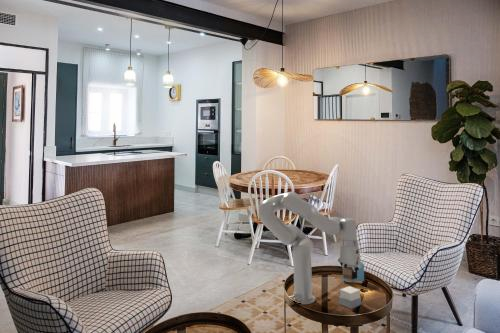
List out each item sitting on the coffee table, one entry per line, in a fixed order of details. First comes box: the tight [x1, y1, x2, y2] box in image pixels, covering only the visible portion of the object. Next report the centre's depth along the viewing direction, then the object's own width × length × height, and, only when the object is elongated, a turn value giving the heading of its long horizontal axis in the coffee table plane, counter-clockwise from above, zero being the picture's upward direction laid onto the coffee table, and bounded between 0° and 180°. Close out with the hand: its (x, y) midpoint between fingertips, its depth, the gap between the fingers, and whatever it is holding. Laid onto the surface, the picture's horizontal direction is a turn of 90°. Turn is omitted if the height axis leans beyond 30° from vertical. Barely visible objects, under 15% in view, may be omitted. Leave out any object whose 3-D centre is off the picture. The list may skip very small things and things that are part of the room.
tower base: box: [338, 296, 362, 310], centre depth 193 cm, size 8×8×4 cm
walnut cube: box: [342, 266, 353, 280], centre depth 192 cm, size 5×5×5 cm
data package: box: [342, 261, 365, 282], centre depth 223 cm, size 12×4×12 cm, turn 75°
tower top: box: [339, 285, 361, 301], centre depth 193 cm, size 7×7×4 cm
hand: (350, 276), depth 192 cm, fingers closed on walnut cube, 4 cm apart
